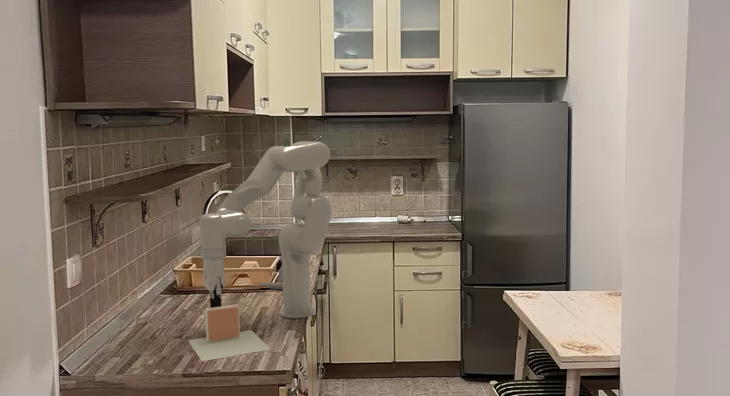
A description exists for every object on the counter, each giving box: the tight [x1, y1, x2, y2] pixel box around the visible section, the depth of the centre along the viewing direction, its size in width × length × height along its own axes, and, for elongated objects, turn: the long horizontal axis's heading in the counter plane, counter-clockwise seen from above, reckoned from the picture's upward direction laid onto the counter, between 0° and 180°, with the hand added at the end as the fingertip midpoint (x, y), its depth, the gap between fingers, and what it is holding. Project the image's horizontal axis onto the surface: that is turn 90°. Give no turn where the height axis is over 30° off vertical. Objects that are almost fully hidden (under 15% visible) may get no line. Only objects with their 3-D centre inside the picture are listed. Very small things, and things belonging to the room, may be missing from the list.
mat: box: [187, 329, 271, 362], centre depth 196 cm, size 20×20×1 cm
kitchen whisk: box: [255, 277, 334, 295], centre depth 260 cm, size 6×34×6 cm, turn 70°
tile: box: [204, 303, 241, 342], centre depth 201 cm, size 2×10×10 cm, turn 116°
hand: (216, 309), depth 208 cm, fingers closed
